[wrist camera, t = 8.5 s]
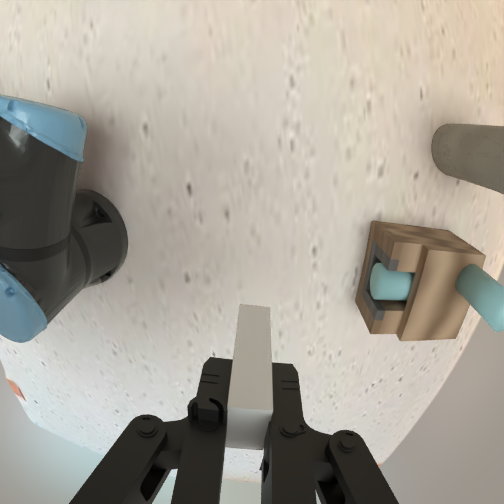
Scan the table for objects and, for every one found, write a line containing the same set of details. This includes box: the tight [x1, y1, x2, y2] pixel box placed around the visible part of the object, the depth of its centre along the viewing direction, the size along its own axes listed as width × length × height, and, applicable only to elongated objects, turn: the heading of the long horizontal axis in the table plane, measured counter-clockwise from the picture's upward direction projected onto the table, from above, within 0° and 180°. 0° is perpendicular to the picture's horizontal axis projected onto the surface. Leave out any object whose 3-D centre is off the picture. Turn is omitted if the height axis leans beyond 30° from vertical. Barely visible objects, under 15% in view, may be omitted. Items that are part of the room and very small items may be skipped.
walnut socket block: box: [355, 221, 486, 341], centre depth 38 cm, size 14×13×10 cm
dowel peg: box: [370, 263, 415, 300], centre depth 38 cm, size 13×5×5 cm, turn 86°
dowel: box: [456, 264, 504, 332], centre depth 28 cm, size 4×4×9 cm
